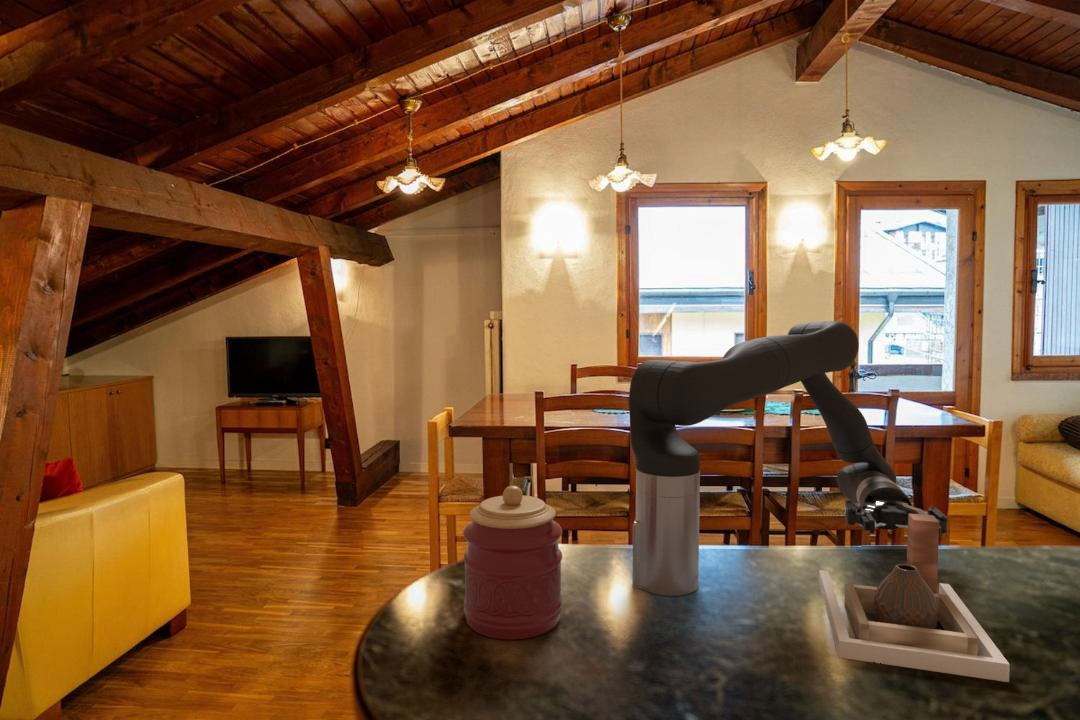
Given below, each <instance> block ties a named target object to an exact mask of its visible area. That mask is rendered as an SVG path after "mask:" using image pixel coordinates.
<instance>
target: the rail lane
mask: <svg viewBox="0 0 1080 720" xmlns="http://www.w3.org/2000/svg"><path fill="white" fill-rule="evenodd" d="M818 571H819V573H818V584H819V588H820V592H821V595H822V599H823V602H824V606H825V611H826V614H827V618H828V622H829V625H830V630H831V633H832V635H833V636H832V637H833V640H834V644H835V648H836V651H837V656H838V658H841V659H848V660H854V661H855V660H856V661H860V662H861V661H862V662H868V663H873V662H875V663H874V664H880V663H881V664H882V665H887V666H889V665H890V666H895V667H901V668H902V667H903V668H909V669H916V670H923V671H928V672H935V673H937V672H938V673H943V674H949V675H950V674H951V675H957V676H962V677H969V678H970V677H971V678H977V679H982V680H983V679H985V680H992V681H999V682H1003V683H1004V682H1005V683H1010V666H1011V664H1010V663H1009V661H1008V660H1007V659H1006V658H1005V657H1004V655H1003V654H1002V652H1001V651H1000V649H999V648H998V647H997V646H996V644H995V643H994V642H993V640H992V639H991V638H990V636H989V635H988V634H987V632H986V631H985V629H984V628H983V627H982V625H981V624H980V623H979V622H978V620H977V619H976V618H975V616H974V615H973V614H972V613H971V611H970V610H969V609H968V606H966V605H965V603H964V602H963V601H962V599H961V598H960V597H959V596H958V594H957V592H955V590H954V589H953V587H952V586H951V585H950V583H942V582H939V585H938V587H939V588H938V594H943V595H947V596H948V597H949V599H950V600H951V602H952V603H953V604H954V606H955V607H956V609H957V610H958V611H959V613H960V614H961V616H962V617H963V618H964V620H965V621H966V622H967V624H968V625H969V627H970V628H971V629H972V631H973V632H974V634H975V635H976V636H977V638H978V656H976V655H968V654H961V653H954V652H946V651H939V650H932V649H924V648H917V647H910V646H903V645H895V644H888V643H881V642H873V641H866V640H859V639H855V638H850V635H849V632H848V629H847V627H846V622H845V620H844V617H843V614H842V611H841V608H840V604H839V601H838V598H837V594H836V592H835V588H834V585H833V582H832V579H831V575H830V572H829V570H821V569H820V570H818Z"/></svg>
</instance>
